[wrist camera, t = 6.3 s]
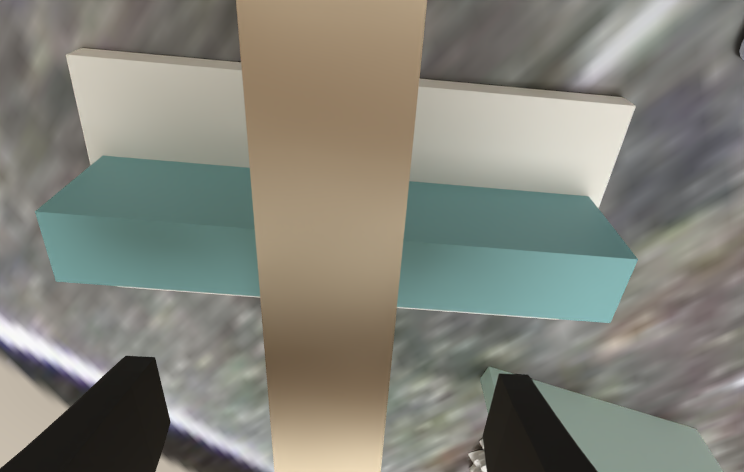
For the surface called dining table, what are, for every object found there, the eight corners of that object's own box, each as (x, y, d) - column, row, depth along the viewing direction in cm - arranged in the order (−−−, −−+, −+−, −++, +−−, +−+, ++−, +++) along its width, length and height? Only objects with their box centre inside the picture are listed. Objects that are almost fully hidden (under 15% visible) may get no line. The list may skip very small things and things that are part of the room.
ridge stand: (623, 97, 17) (704, 153, 13) (550, 304, 22) (592, 396, 18) (82, 48, 16) (-23, 90, 12) (127, 272, 21) (64, 359, 17)
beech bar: (371, 463, 20) (370, 576, 16) (299, 460, 20) (283, 573, 16) (416, -83, 10) (435, -88, 7) (278, -92, 10) (228, -101, 7)
